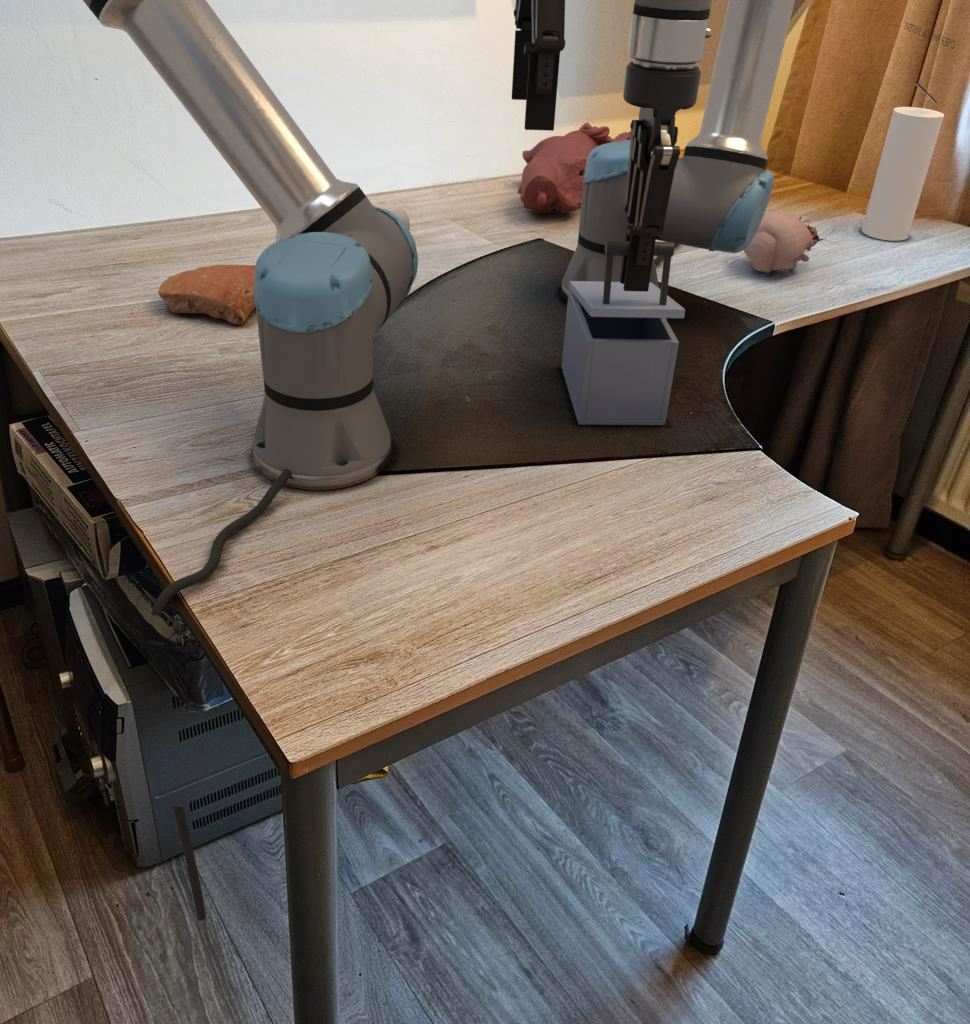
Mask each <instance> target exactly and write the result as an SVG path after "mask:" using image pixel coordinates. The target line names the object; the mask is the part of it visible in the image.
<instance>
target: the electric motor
mask: <svg viewBox="0 0 970 1024" xmlns="http://www.w3.org/2000/svg"><path fill="white" fill-rule="evenodd" d="M389 211H390V212H392V213H393V214H395V215H396V216H397V217H398V218H399V219H400V220H401V221H402V222H403V223H404V224H405V225H406V227H407V228H408V229H409V231H410V229H411V222H410V218H409V216H408V213H407V212H406V210H404V209H403V208H397V209H392V210H389Z"/></svg>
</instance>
